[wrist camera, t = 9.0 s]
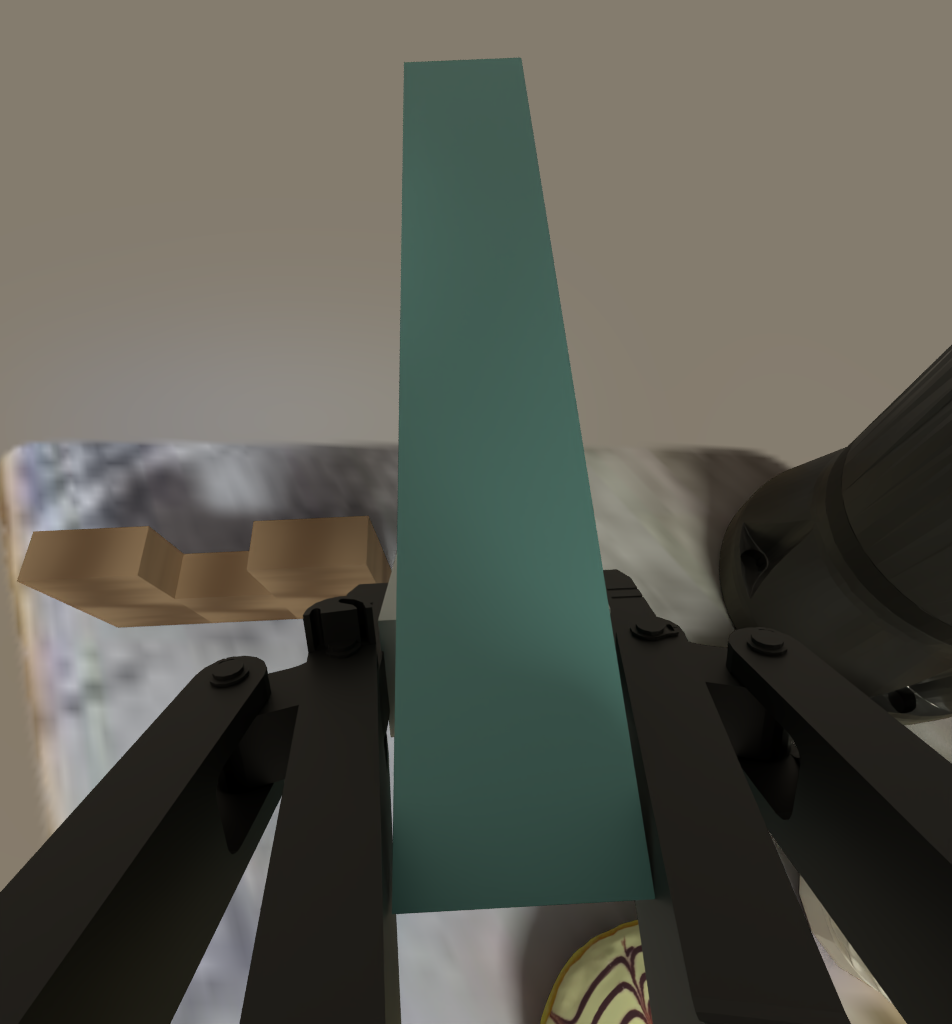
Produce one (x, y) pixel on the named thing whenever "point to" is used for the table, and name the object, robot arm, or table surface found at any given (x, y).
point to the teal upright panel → (496, 537)
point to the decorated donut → (602, 982)
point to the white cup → (834, 939)
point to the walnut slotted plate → (205, 572)
